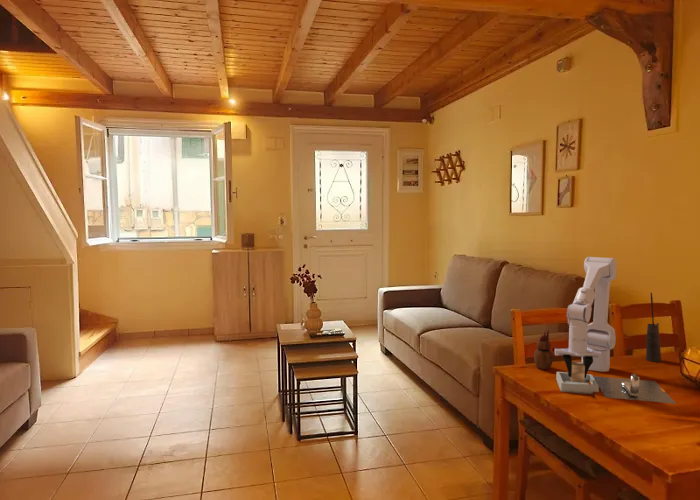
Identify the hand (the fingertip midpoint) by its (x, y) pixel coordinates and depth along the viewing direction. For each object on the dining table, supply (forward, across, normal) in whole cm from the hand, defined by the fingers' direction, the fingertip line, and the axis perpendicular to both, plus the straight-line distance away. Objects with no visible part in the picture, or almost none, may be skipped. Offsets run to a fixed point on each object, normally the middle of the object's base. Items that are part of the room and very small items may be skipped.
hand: (576, 376), depth 164 cm
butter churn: (+4, +36, +40) cm, 54 cm away
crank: (+2, +16, -3) cm, 16 cm away
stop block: (+1, 0, 0) cm, 1 cm away
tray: (+4, 0, 0) cm, 4 cm away
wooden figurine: (+4, -9, +18) cm, 21 cm away
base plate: (+4, +17, 0) cm, 17 cm away
